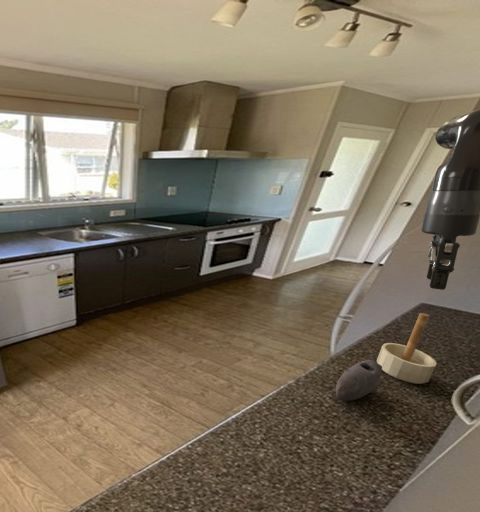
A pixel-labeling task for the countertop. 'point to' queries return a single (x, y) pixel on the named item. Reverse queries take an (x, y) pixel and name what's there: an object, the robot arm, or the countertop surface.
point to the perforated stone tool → (359, 380)
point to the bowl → (406, 364)
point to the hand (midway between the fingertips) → (435, 283)
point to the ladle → (415, 336)
